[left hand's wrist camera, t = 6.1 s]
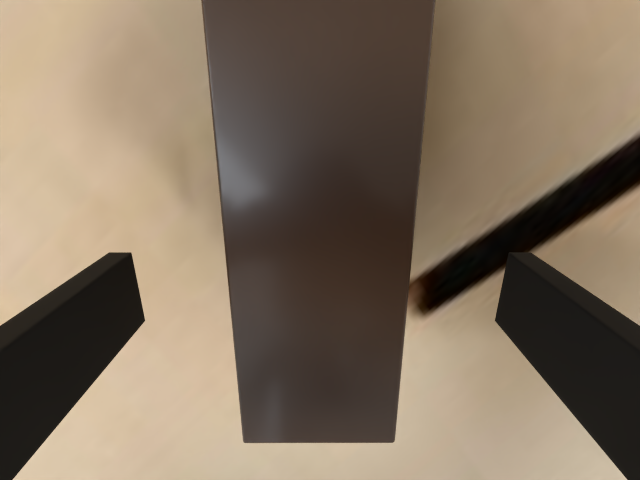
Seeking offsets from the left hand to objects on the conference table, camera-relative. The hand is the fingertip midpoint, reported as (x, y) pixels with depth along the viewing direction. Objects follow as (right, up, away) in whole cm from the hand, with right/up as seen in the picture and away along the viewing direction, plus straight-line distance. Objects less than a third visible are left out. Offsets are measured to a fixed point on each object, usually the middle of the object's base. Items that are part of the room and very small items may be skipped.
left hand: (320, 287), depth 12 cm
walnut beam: (0, +11, +3) cm, 11 cm away
